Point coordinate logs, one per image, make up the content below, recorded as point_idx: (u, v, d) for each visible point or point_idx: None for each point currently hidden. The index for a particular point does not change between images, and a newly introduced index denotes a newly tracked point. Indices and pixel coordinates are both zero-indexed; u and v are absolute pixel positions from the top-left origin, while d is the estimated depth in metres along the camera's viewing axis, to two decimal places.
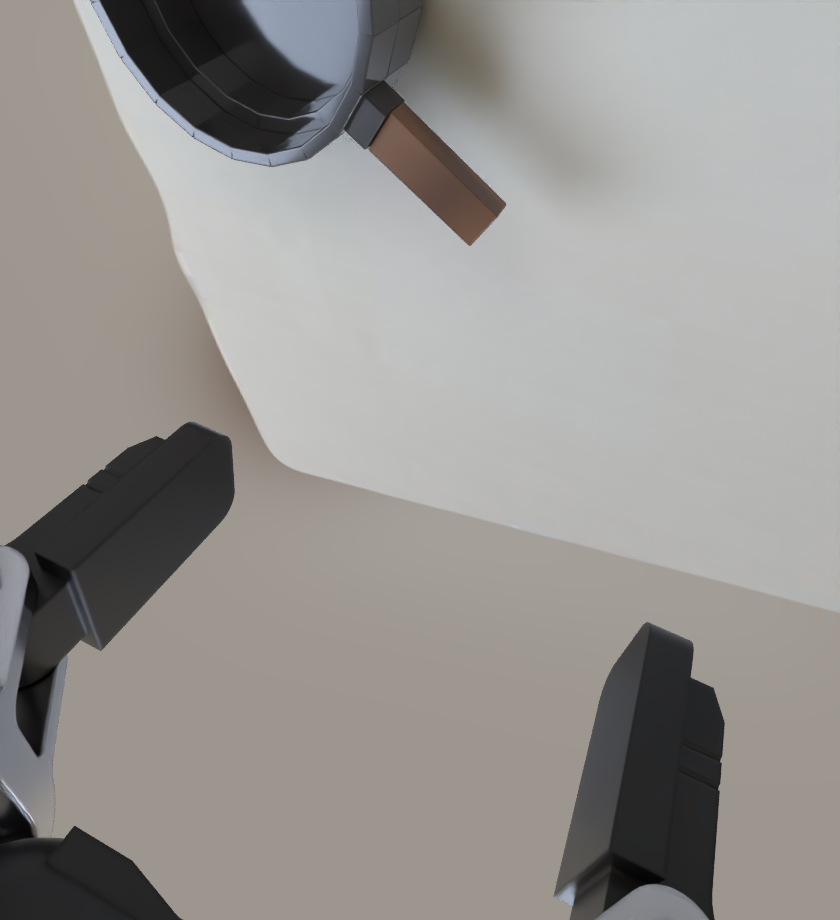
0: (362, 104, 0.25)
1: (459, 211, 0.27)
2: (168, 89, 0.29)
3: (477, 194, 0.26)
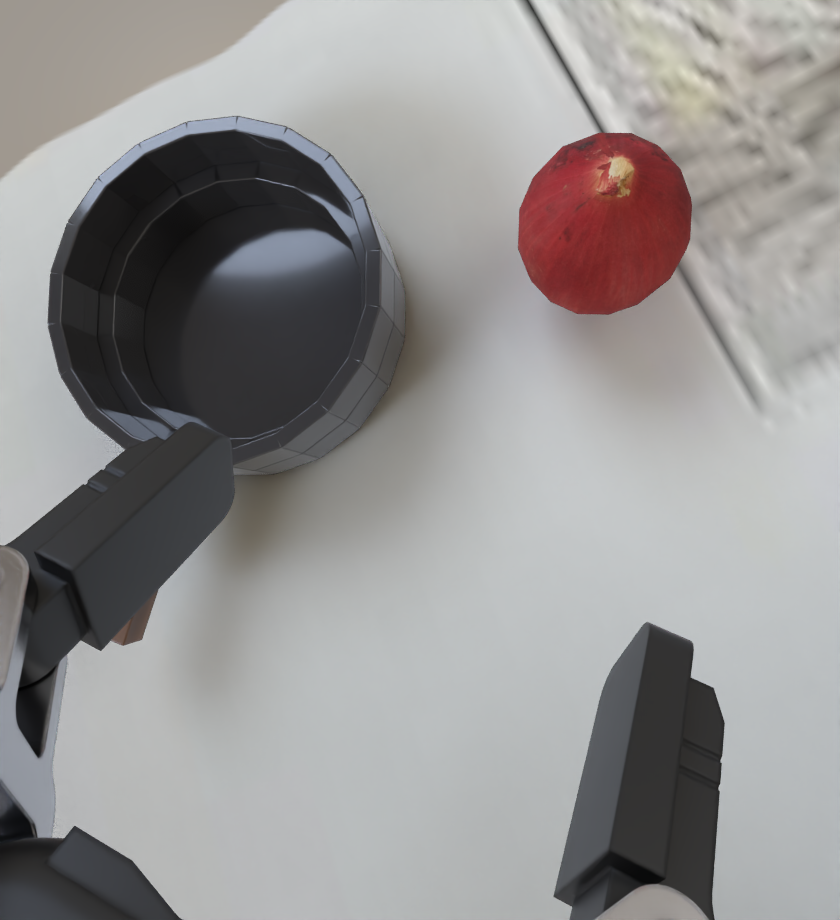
0: None
1: None
2: (90, 233, 0.26)
3: (135, 614, 0.24)
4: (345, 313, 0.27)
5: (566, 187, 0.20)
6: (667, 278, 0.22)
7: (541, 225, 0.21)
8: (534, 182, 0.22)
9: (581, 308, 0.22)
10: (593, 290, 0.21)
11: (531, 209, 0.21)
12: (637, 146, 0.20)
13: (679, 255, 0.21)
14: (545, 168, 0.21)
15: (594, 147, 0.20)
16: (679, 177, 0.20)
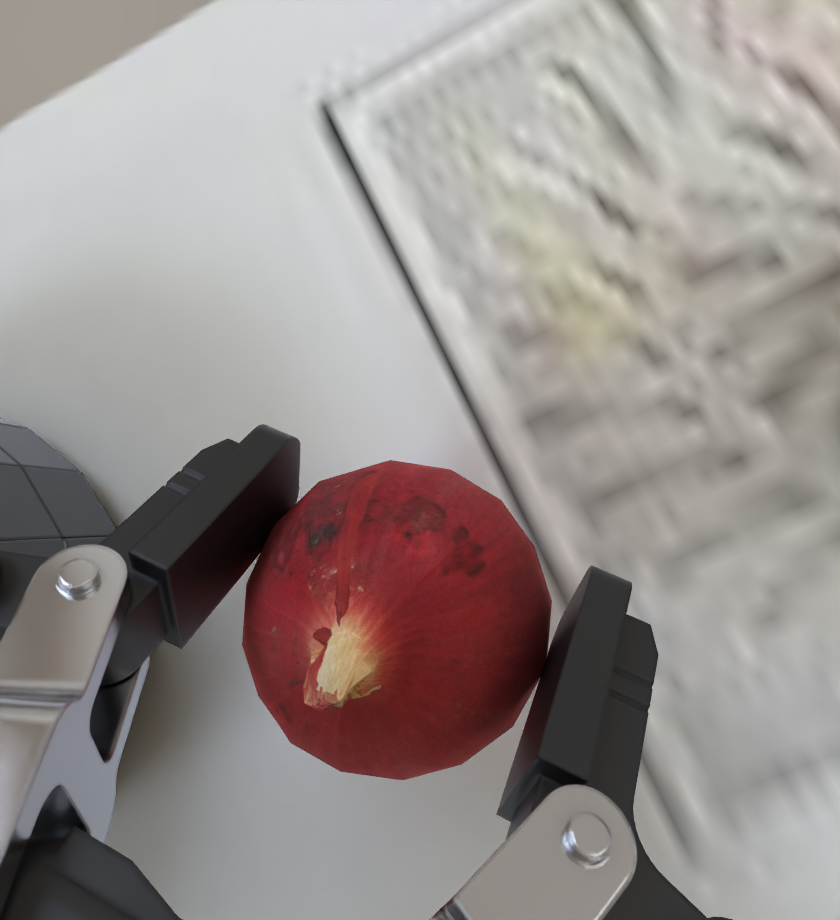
0: None
1: None
2: None
3: None
4: None
5: (274, 632, 0.10)
6: None
7: (252, 667, 0.11)
8: (262, 553, 0.12)
9: None
10: None
11: (244, 619, 0.11)
12: (415, 558, 0.10)
13: (523, 705, 0.11)
14: (275, 537, 0.11)
15: (330, 553, 0.10)
16: (509, 593, 0.10)
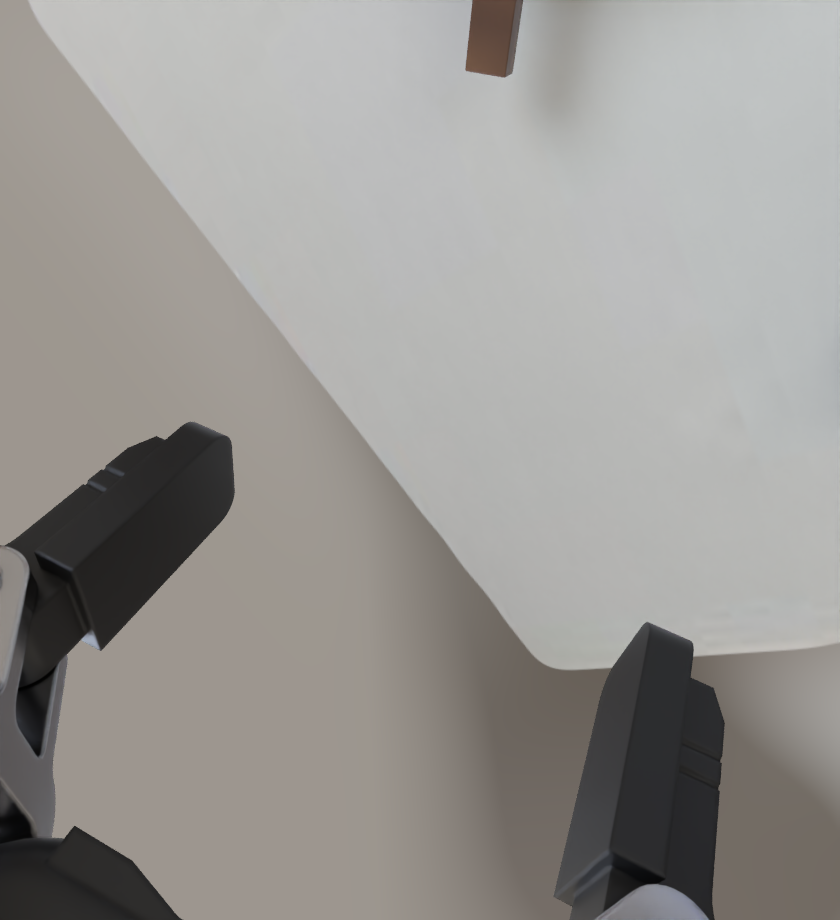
0: None
1: (487, 41, 0.29)
2: None
3: (510, 47, 0.29)
4: None
5: None
6: None
7: None
8: None
9: None
10: None
11: None
12: None
13: None
14: None
15: None
16: None
